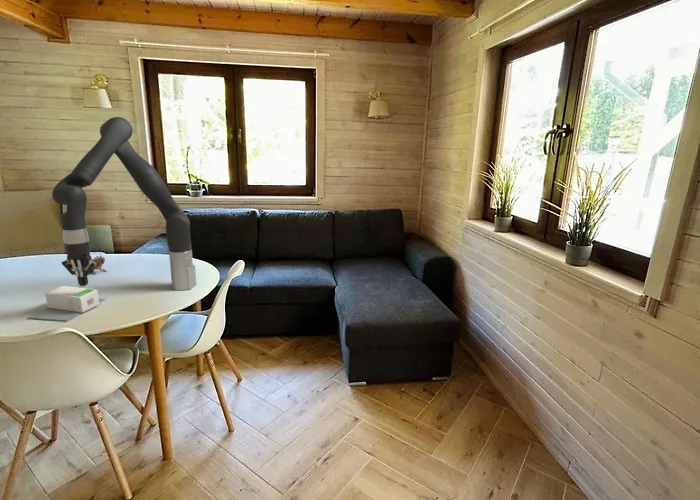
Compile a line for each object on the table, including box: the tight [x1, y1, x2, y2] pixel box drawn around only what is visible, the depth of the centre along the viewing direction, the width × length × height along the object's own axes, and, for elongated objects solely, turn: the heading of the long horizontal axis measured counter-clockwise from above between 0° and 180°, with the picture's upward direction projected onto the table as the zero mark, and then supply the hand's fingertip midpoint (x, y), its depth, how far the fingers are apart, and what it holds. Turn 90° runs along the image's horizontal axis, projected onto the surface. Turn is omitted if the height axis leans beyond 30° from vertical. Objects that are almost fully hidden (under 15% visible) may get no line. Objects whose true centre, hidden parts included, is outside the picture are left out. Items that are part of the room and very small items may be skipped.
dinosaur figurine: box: [88, 255, 108, 276], centre depth 185 cm, size 14×6×9 cm, turn 89°
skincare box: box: [44, 285, 101, 314], centre depth 146 cm, size 8×7×16 cm
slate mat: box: [26, 297, 106, 323], centre depth 146 cm, size 15×20×1 cm
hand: (83, 285), depth 143 cm, fingers closed
